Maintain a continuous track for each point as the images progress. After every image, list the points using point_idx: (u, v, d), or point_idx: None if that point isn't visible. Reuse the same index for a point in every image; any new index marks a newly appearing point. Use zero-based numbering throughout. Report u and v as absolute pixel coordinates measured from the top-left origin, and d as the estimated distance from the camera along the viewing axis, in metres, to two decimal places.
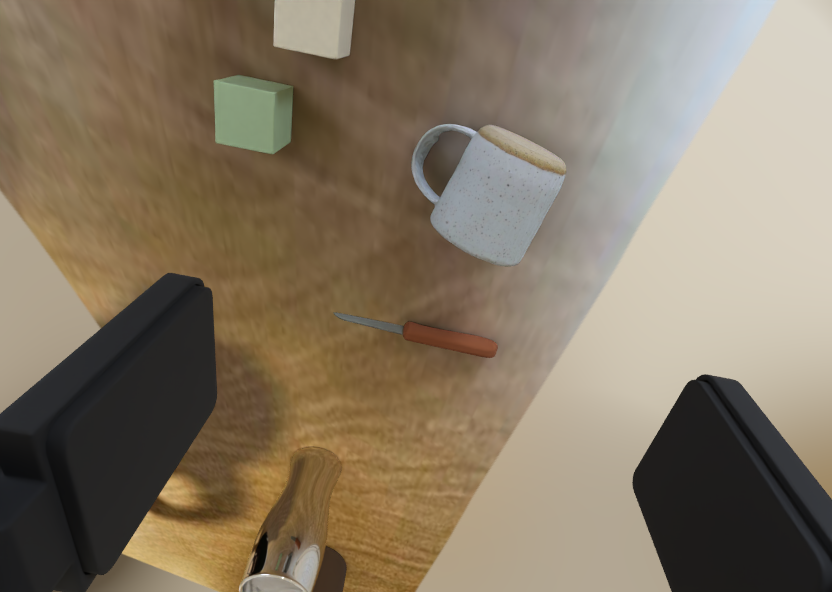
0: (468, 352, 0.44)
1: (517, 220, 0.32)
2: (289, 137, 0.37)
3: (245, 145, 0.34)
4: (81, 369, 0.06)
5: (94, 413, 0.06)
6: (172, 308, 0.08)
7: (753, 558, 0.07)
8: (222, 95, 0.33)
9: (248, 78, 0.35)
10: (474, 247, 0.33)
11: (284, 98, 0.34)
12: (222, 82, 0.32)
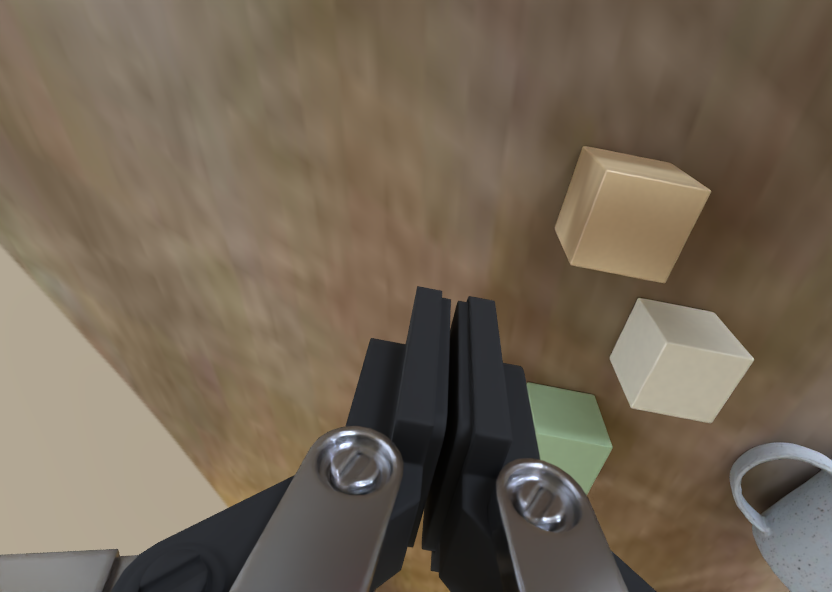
0: None
1: None
2: None
3: None
4: (423, 372, 0.07)
5: None
6: (442, 318, 0.09)
7: (446, 434, 0.08)
8: (542, 445, 0.26)
9: (545, 392, 0.28)
10: None
11: None
12: (546, 433, 0.26)
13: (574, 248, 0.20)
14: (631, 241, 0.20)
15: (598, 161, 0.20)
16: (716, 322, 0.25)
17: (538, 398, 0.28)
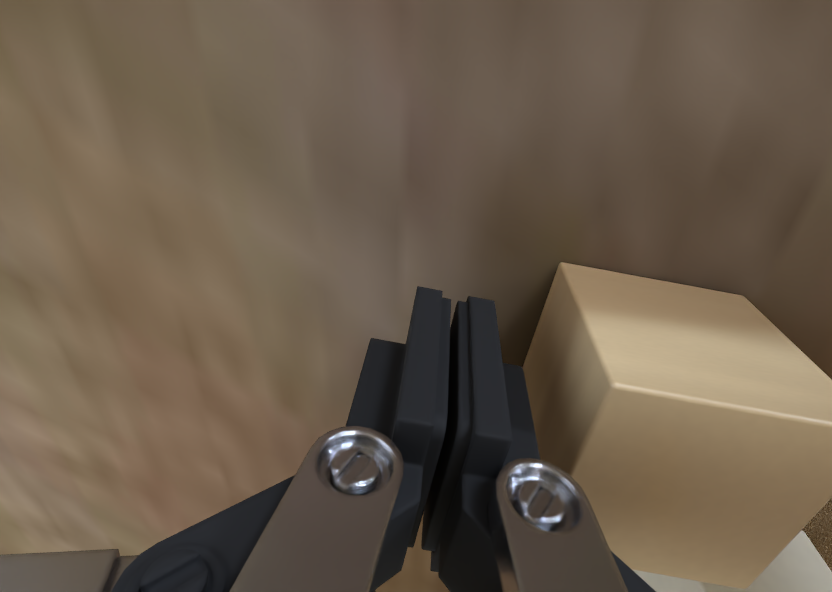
0: None
1: None
2: None
3: None
4: (423, 372, 0.07)
5: None
6: (442, 318, 0.09)
7: (446, 435, 0.08)
8: None
9: None
10: None
11: None
12: None
13: None
14: (672, 520, 0.08)
15: (591, 333, 0.08)
16: (816, 567, 0.13)
17: None
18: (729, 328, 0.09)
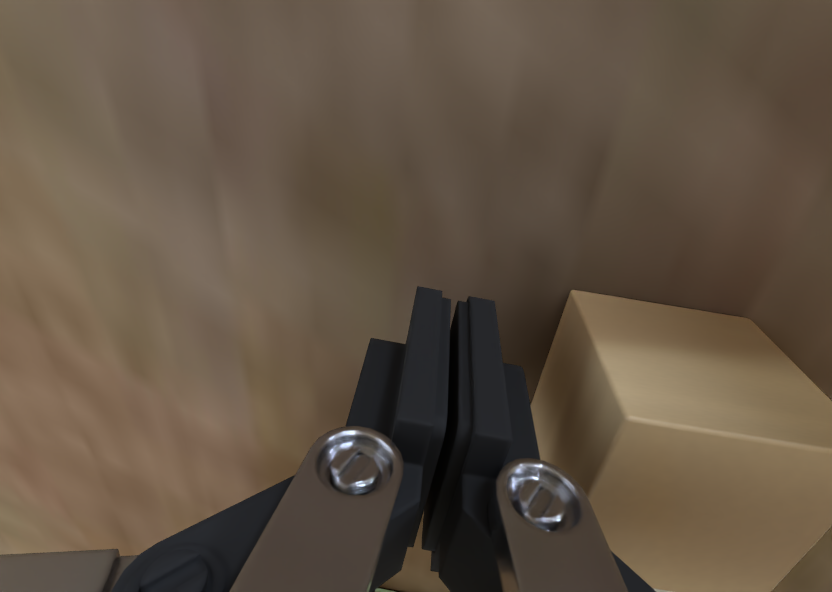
0: None
1: None
2: None
3: None
4: (423, 372, 0.07)
5: None
6: (442, 318, 0.09)
7: (446, 435, 0.08)
8: None
9: None
10: None
11: None
12: None
13: None
14: (685, 542, 0.09)
15: (604, 365, 0.09)
16: None
17: None
18: (736, 354, 0.09)
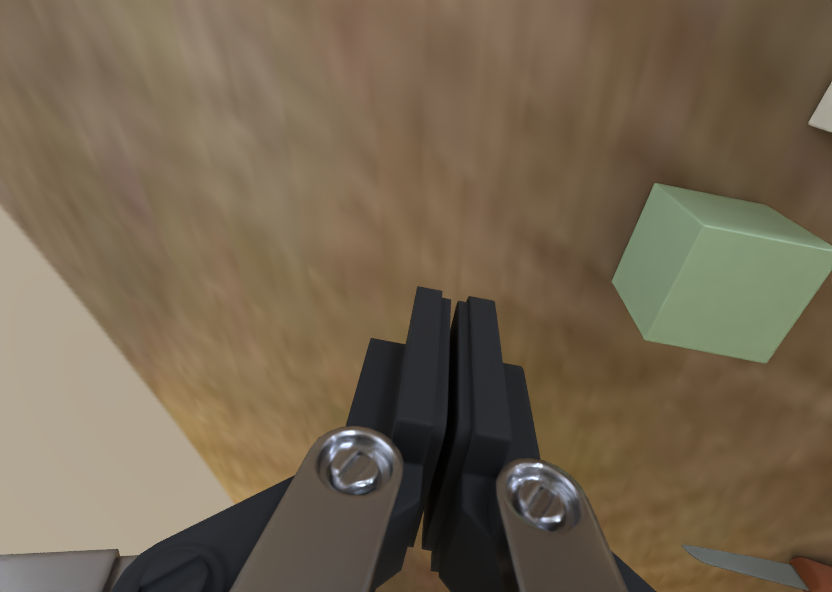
0: None
1: None
2: None
3: (712, 346, 0.16)
4: (423, 372, 0.07)
5: None
6: (442, 318, 0.09)
7: (446, 434, 0.08)
8: (709, 254, 0.14)
9: (689, 193, 0.17)
10: None
11: None
12: (720, 228, 0.14)
13: None
14: None
15: None
16: None
17: (682, 196, 0.16)
18: None
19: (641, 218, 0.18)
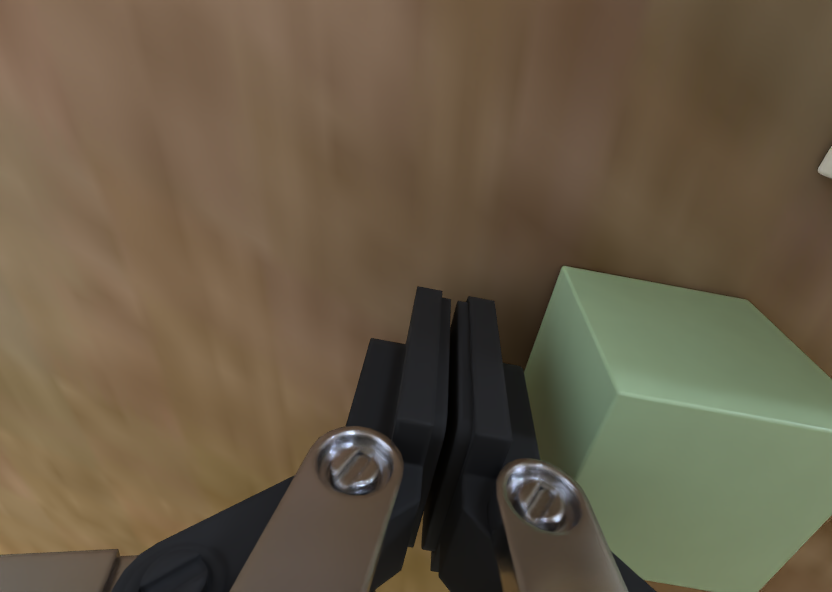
0: None
1: None
2: None
3: (654, 574, 0.09)
4: (423, 372, 0.07)
5: None
6: (442, 318, 0.09)
7: (446, 434, 0.08)
8: (635, 441, 0.07)
9: (617, 288, 0.10)
10: None
11: None
12: (653, 395, 0.07)
13: None
14: None
15: None
16: None
17: (601, 299, 0.09)
18: None
19: (545, 320, 0.11)
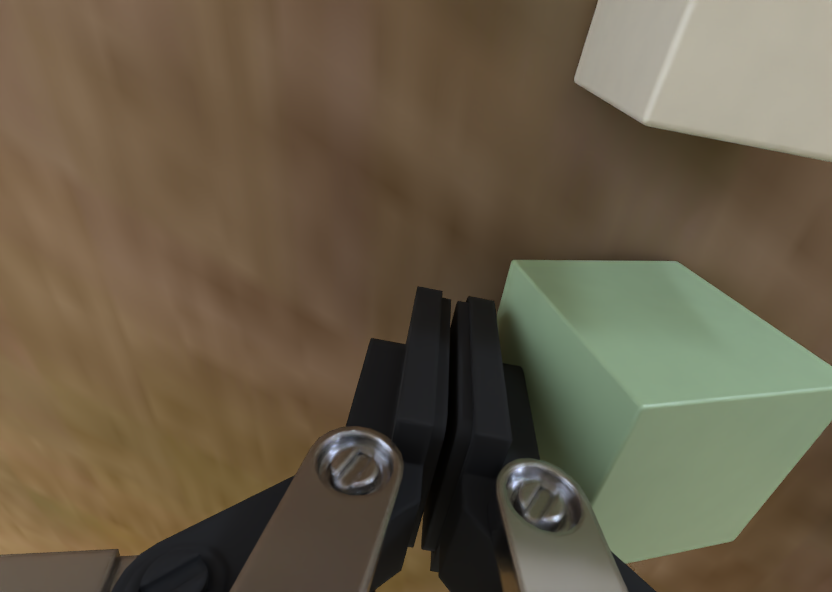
0: None
1: None
2: None
3: (658, 551, 0.09)
4: (423, 372, 0.07)
5: None
6: (442, 318, 0.09)
7: (446, 435, 0.08)
8: (653, 446, 0.07)
9: (572, 275, 0.09)
10: None
11: None
12: (670, 400, 0.07)
13: None
14: None
15: None
16: None
17: (567, 293, 0.09)
18: None
19: (500, 319, 0.10)
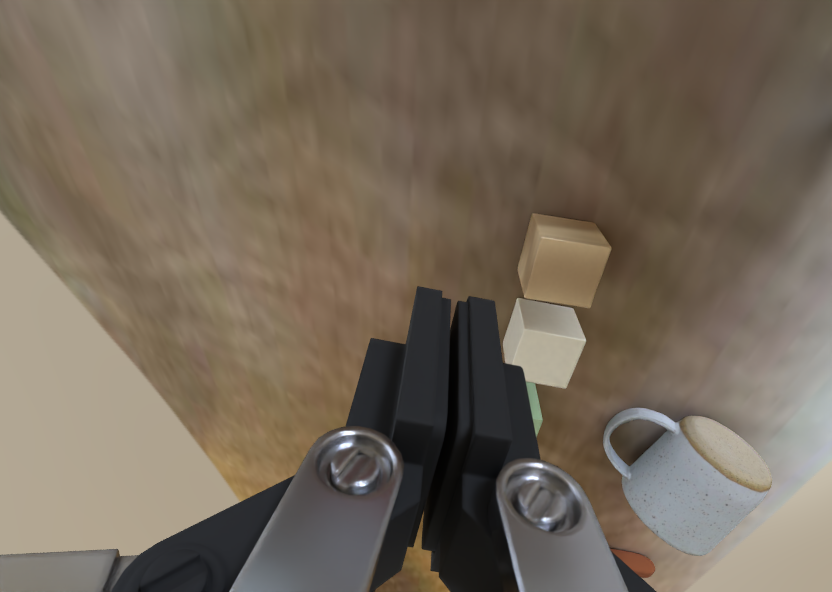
0: None
1: (728, 527, 0.34)
2: None
3: None
4: (423, 372, 0.07)
5: None
6: (443, 318, 0.09)
7: (446, 434, 0.08)
8: None
9: None
10: (683, 545, 0.35)
11: None
12: None
13: (526, 287, 0.30)
14: (563, 281, 0.29)
15: (538, 229, 0.29)
16: (570, 315, 0.34)
17: None
18: (582, 229, 0.30)
19: None
